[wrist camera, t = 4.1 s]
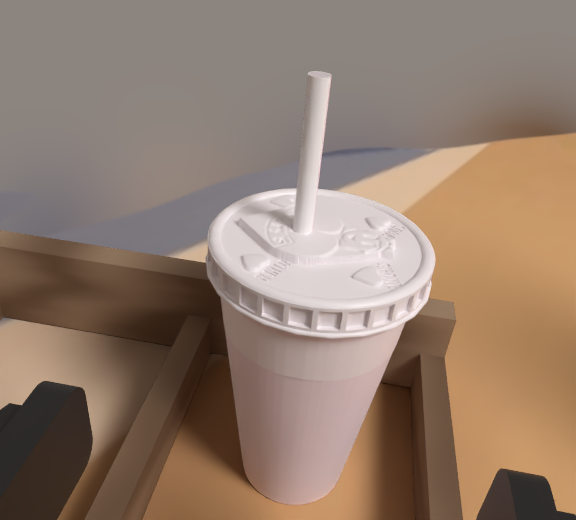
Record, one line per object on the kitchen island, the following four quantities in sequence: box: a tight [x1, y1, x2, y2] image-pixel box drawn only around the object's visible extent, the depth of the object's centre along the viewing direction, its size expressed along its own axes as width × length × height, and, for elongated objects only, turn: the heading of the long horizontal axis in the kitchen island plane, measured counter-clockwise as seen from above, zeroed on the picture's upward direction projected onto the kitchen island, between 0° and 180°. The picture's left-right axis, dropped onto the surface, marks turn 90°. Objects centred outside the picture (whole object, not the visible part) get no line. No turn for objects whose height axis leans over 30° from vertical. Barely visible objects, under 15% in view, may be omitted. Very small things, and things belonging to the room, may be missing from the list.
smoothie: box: [206, 71, 435, 505], centre depth 17 cm, size 6×6×14 cm
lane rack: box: [0, 230, 463, 520], centre depth 20 cm, size 21×13×4 cm, turn 81°
